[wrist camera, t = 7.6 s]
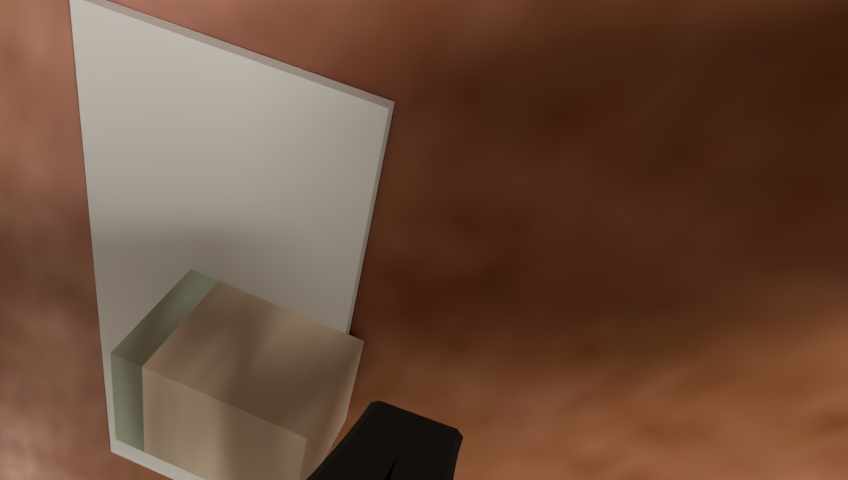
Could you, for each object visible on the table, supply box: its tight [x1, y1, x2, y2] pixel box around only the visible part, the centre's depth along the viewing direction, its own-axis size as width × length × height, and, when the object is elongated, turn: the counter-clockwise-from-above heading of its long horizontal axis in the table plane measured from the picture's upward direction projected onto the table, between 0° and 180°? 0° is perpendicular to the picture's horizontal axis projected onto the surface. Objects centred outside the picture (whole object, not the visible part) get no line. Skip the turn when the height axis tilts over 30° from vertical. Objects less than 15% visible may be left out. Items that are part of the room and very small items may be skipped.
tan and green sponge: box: [110, 269, 364, 480], centre depth 24 cm, size 4×4×6 cm
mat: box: [70, 0, 395, 480], centre depth 26 cm, size 9×20×1 cm, turn 168°
